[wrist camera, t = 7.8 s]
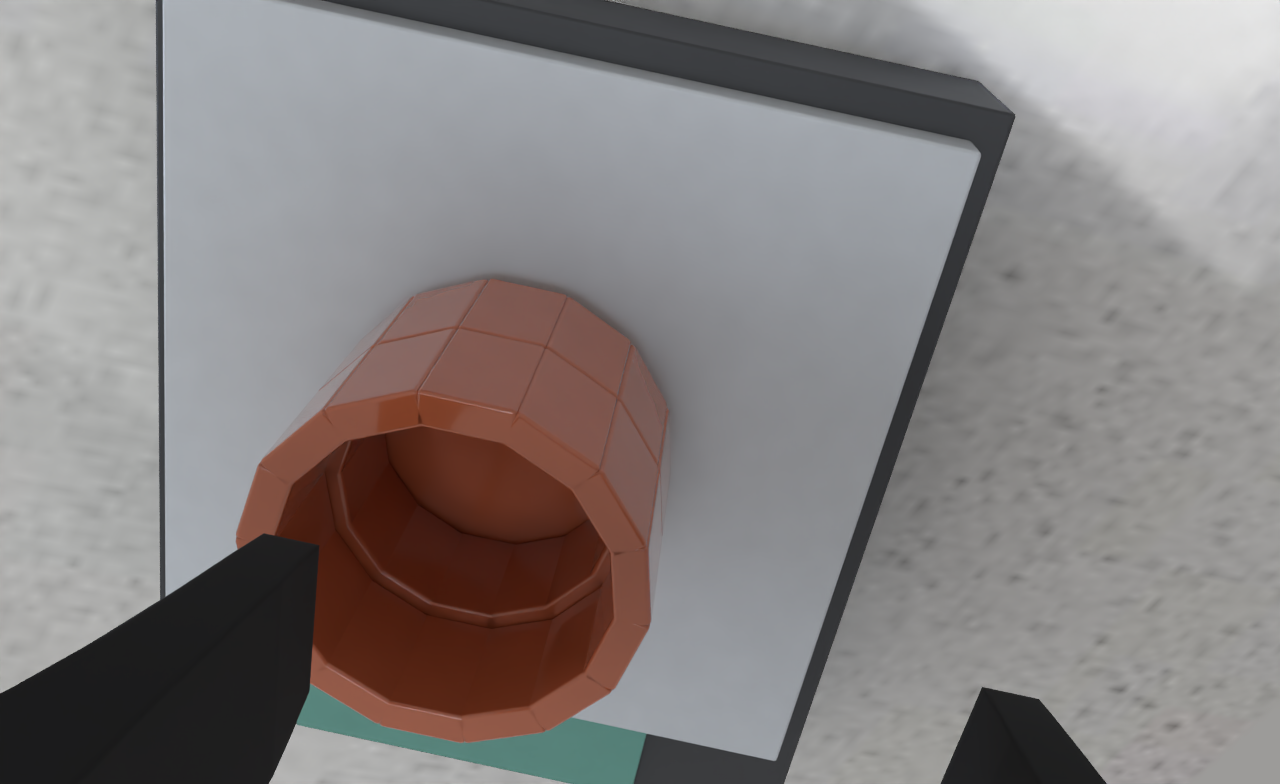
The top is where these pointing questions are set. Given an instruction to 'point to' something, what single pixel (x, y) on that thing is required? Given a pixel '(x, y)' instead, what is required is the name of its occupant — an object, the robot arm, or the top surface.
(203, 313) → the scale
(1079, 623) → the top surface
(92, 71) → the top surface
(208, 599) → the robot arm
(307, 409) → the flower pot
